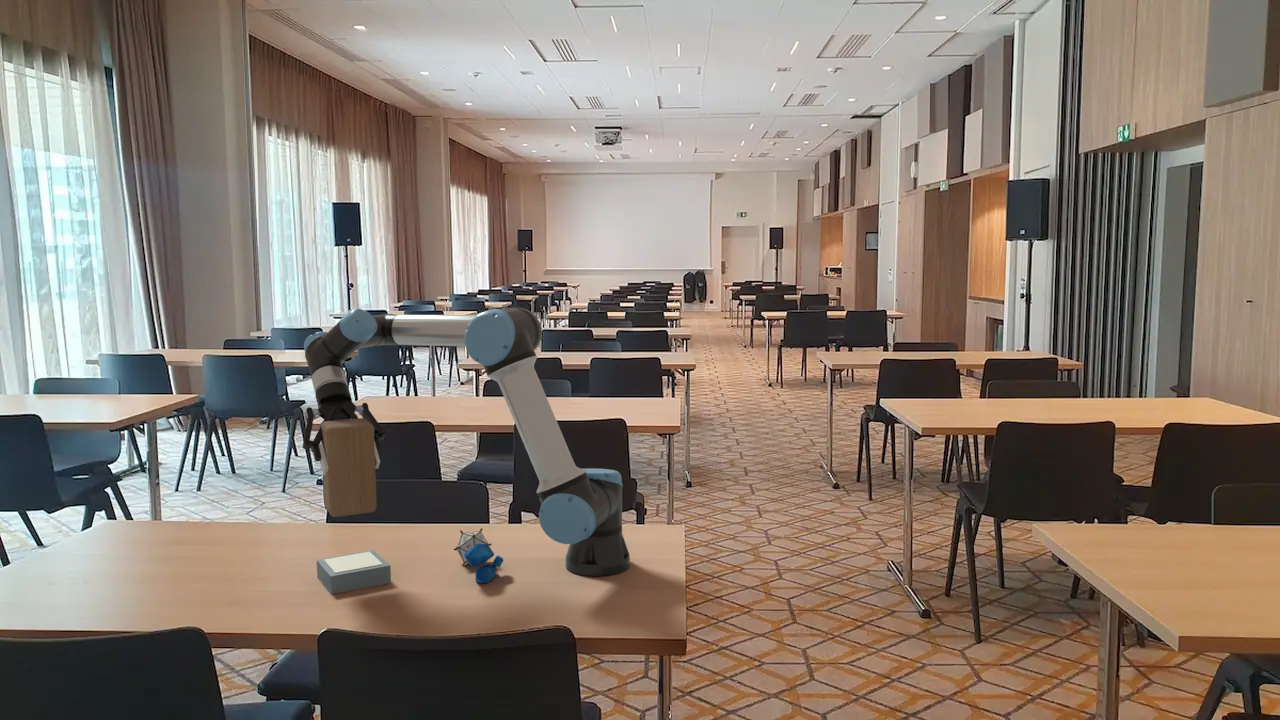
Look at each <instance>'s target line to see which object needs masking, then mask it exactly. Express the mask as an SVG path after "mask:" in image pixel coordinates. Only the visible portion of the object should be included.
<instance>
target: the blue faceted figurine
mask: <svg viewBox="0 0 1280 720" xmlns="http://www.w3.org/2000/svg"><path fill="white" fill-rule="evenodd" d="M488 544H489V543H488ZM488 544H476V545H475V546H473V547H472V548H471V549H469V550H468V551H467V552H466V553H464V556H465V558H466V560H467V561H468V563H467V564H469V566H470V567H471V568H472V569H474V568H476V569H475V582H476V583H478V582H479V583H480V584H488V583H489V582H490V581H491V580H492V579H493V578H494V577H495V576H496V575H497V567H498V568H500V567H501V566H502V564H503V563H504V557H501V556H500V555H496V556H495V552H494V551H493V550H492V548H491V546H489V545H488ZM494 556H495V557H494ZM493 557H494V560H493V562H492V563H486V562H488V561H489V560H491V558H493ZM484 563H485V564H484ZM483 564H484V565H483ZM481 565H482V566H481ZM479 566H480V567H479ZM477 567H478V568H477Z"/></svg>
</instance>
